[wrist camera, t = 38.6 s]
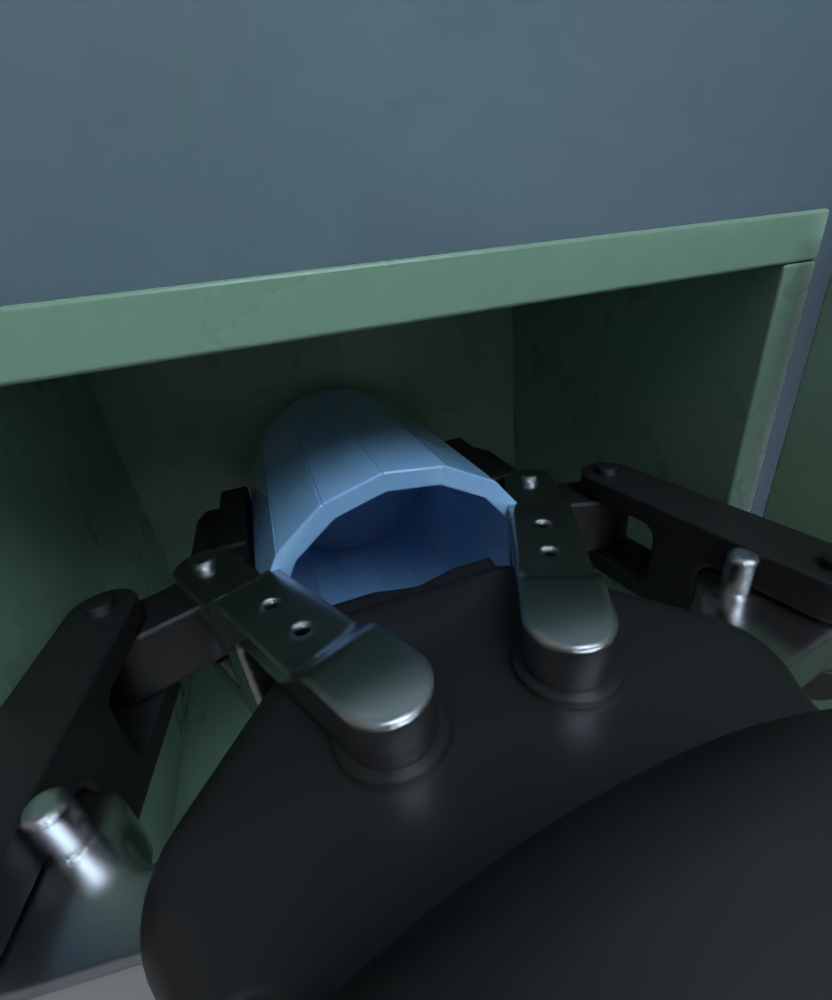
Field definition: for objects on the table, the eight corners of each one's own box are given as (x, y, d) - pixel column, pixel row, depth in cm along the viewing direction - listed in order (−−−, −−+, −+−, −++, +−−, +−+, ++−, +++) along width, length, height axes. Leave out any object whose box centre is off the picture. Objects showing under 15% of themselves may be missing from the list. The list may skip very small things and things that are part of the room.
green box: (185, 638, 19) (135, 956, 10) (31, 307, 13) (-427, 356, 4) (520, 537, 22) (701, 700, 14) (519, 248, 17) (832, 207, 8)
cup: (230, 531, 15) (222, 710, 9) (282, 359, 14) (319, 426, 7) (389, 562, 18) (471, 715, 12) (449, 421, 16) (583, 509, 10)
